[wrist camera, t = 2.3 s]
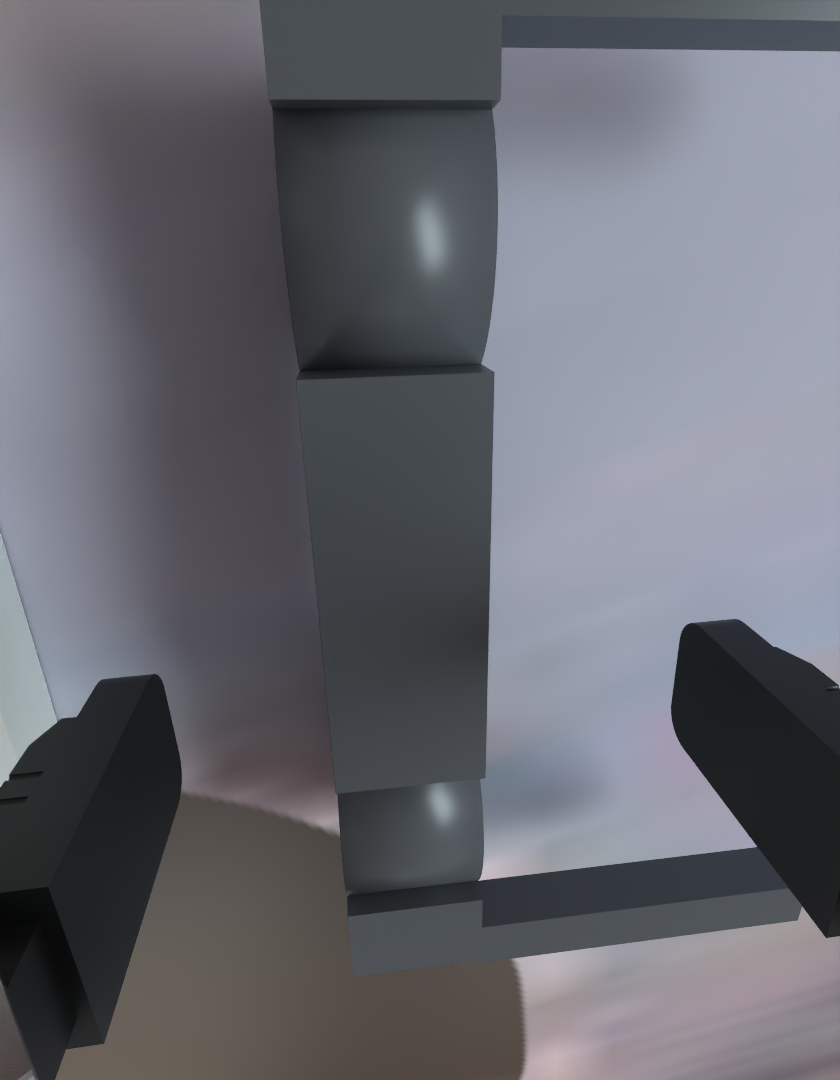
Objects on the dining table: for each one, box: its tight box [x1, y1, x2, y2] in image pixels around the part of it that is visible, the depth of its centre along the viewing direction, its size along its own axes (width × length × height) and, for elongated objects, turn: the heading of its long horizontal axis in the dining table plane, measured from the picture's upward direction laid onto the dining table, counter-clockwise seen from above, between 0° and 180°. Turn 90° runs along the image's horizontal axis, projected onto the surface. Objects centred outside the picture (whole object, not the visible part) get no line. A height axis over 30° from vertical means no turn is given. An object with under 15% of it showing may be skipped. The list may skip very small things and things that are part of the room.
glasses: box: [259, 0, 840, 977], centre depth 14 cm, size 19×11×5 cm, turn 1°
